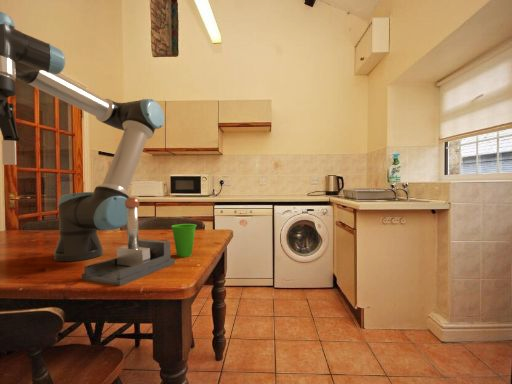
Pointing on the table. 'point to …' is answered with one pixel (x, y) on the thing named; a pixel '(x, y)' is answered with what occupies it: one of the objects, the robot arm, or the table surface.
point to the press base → (122, 273)
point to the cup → (184, 238)
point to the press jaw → (132, 238)
